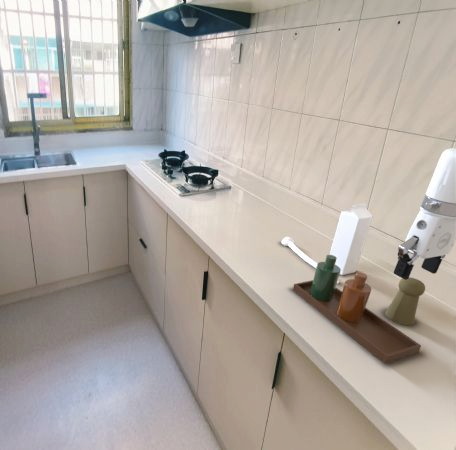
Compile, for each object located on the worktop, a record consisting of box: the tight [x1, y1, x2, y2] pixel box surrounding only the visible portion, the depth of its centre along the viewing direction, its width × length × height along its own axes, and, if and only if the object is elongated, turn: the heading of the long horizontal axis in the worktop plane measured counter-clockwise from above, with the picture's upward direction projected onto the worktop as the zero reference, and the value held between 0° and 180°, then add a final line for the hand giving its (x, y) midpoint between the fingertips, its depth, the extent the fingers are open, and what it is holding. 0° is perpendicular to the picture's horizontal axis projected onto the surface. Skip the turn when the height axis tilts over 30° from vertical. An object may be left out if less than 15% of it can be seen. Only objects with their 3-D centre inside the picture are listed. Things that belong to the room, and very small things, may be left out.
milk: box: [329, 202, 374, 276], centre depth 102 cm, size 6×6×22 cm
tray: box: [292, 279, 422, 365], centre depth 84 cm, size 10×28×2 cm, turn 20°
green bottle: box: [310, 254, 341, 302], centre depth 90 cm, size 6×6×12 cm
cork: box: [385, 276, 426, 326], centre depth 83 cm, size 6×6×11 cm
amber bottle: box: [336, 271, 372, 323], centre depth 82 cm, size 6×6×12 cm
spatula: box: [281, 236, 340, 285], centre depth 110 cm, size 28×4×3 cm, turn 15°
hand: (414, 273), depth 81 cm, fingers open, 9 cm apart
